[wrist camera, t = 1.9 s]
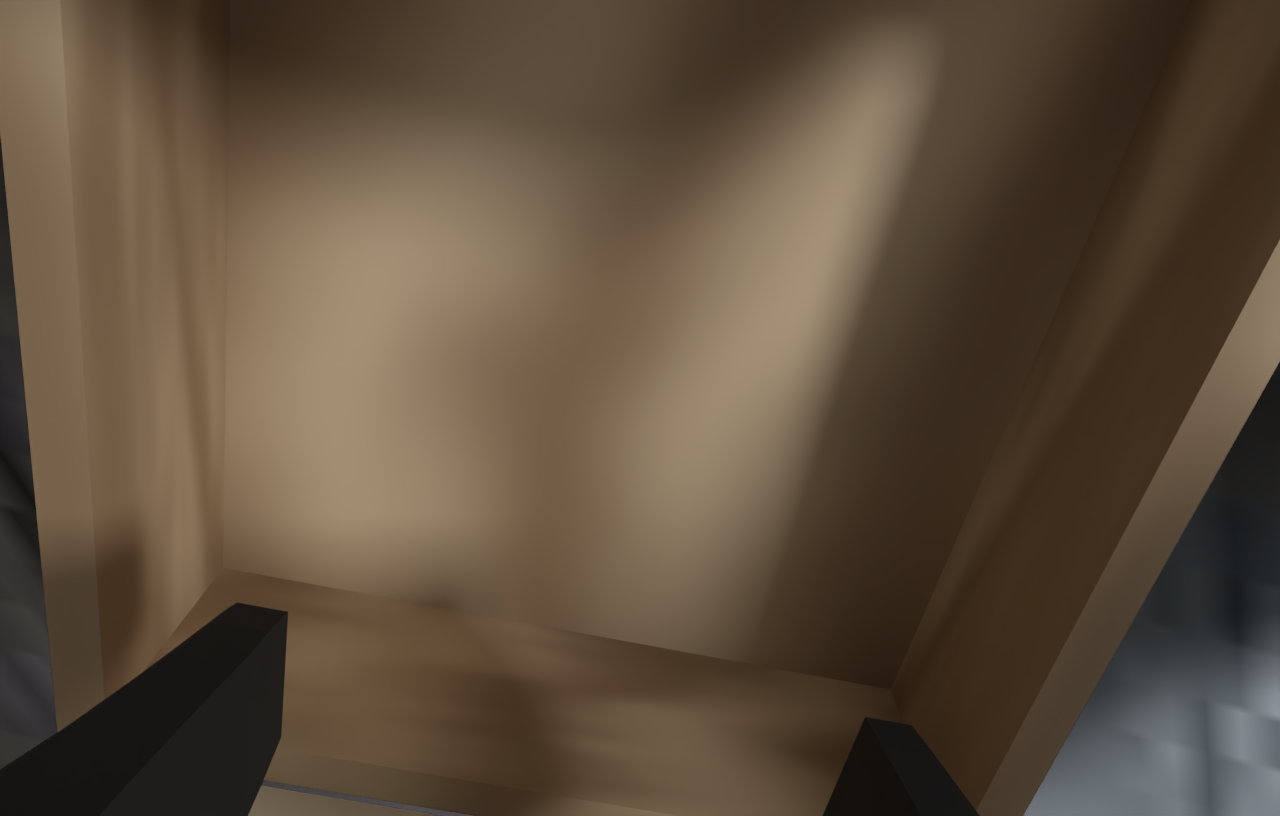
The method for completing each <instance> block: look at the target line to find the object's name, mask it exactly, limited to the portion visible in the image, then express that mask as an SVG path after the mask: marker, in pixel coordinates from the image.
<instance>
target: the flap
mask: <svg viewBox="0 0 1280 816" xmlns="http://www.w3.org/2000/svg"><path fill="white" fill-rule="evenodd" d="M248 816H442V815H436V814H430V813H424V812H418V811H412V810H406V809H400V808H394V807H388V806H382V805H376V804H370V803H364V802H358V801H352V800H346V799H340V798H334V797H328V796H322V795H316V794H309V793H303V792H297V791H291V790H285V789H279V788H273V787H267V786H261V787H260V789H259V792H258V794H257V796H256V799H255V801H254V803H253V806H252V808H251V810H250V813H249V815H248Z"/></svg>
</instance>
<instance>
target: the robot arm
mask: <svg viewBox="0 0 1280 816" xmlns="http://www.w3.org/2000/svg"><path fill="white" fill-rule="evenodd" d="M287 625H288V612H287V611H281V610H276V609H270V608H265V607H259V606H254V605H248V604H243V603H235V604H234V605H232V606H230V607H229V608H227V609H226V610H224V611H223V612H222V613H220V614H219V615H218V616H216V617H215V618H214V619H212V620H211V621H210V622H208V623H207V624H206V625H205V626H203V627H202V628H201V629H199V630H198V631H197V632H195V633H194V634H193V635H191V636H190V637H189V638H188V639H186V640H185V641H184V642H182V643H181V644H180V645H178V646H177V647H176V648H174V649H173V650H172V651H170V652H169V653H168V654H166V655H165V656H164V657H162V658H161V659H160V660H158V661H157V662H156V663H154V664H153V665H152V666H150V667H149V668H147V669H146V670H145V671H143V672H142V673H141V674H139V675H138V676H137V677H135V678H134V679H133V680H131V681H130V682H128V683H127V684H126V685H124V686H123V687H121V688H120V689H119V690H117V691H116V692H114V693H113V694H111V695H110V696H109V697H107V698H106V699H104V700H103V701H102V702H100V703H99V704H97V705H96V706H95V707H93V708H92V709H90V710H89V711H88V712H86V713H85V714H83V715H82V716H81V717H79V718H78V719H76V720H75V721H73V722H72V723H70V724H69V725H68V726H66V727H65V728H63V729H62V730H60V731H59V732H57V733H56V734H54V735H53V736H51V737H50V738H48V739H47V740H45V741H44V742H42V743H40V744H39V745H37V746H36V747H34V748H33V749H31V750H30V751H28V752H27V753H25V754H24V755H22V756H21V757H19V758H17V759H16V760H14V761H13V762H11V763H10V764H8V765H7V766H5V767H4V768H2V769H1V770H0V816H248V815H249V813H250V810H251V808H252V806H253V803H254V801H255V799H256V796H257V794H258V792H259V789H260V787H261V785H262V783H263V780H264V778H265V775H266V773H267V770H268V768H269V766H270V763H271V761H272V758H273V756H274V753H275V751H276V749H277V746H278V744H279V741H280V739H281V733H282V715H283V697H284V679H285V661H286V643H287ZM823 816H980V815H979V814H978V813H977V811H976V810H975V809H974V807H973V806H972V805H971V803H970V802H969V801H968V799H967V798H966V797H965V795H964V794H963V793H962V791H961V790H960V789H959V787H958V786H957V785H956V783H955V782H954V780H953V779H952V778H951V776H950V775H949V774H948V772H947V771H946V770H945V768H944V767H943V766H942V764H941V763H940V762H939V760H938V759H937V758H936V756H935V755H934V754H933V752H932V751H931V750H930V748H929V747H928V746H927V744H926V743H925V742H924V740H923V739H922V738H921V736H920V735H919V734H918V733H917V731H916V730H915V729H914V728H913V726H912V725H907V724H902V723H896V722H891V721H885V720H880V719H874V718H869V717H865V718H864V721H863V723H862V725H861V728H860V730H859V732H858V735H857V737H856V739H855V742H854V744H853V746H852V749H851V751H850V753H849V756H848V758H847V760H846V762H845V765H844V767H843V769H842V772H841V774H840V776H839V779H838V781H837V783H836V786H835V788H834V790H833V793H832V795H831V797H830V800H829V802H828V804H827V806H826V809H825V811H824V813H823Z"/></svg>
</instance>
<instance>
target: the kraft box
mask: <svg viewBox="0 0 1280 816" xmlns="http://www.w3.org/2000/svg"><path fill="white" fill-rule="evenodd" d="M0 136H1V147H2V157H3V168H4V178H5V189H6V199H7V210H8V220H9V231H10V241H11V252H12V262H13V273H14V283H15V294H16V304H17V314H18V325H19V335H20V346H21V356H22V367H23V377H24V388H25V398H26V409H27V419H28V430H29V440H30V451H31V461H32V472H33V482H34V493H35V503H36V514H37V524H38V535H39V545H40V556H41V566H42V577H43V587H44V598H45V608H46V619H47V629H48V640H49V650H50V661H51V671H52V682H53V692H54V702H55V713H56V723H57V732H59V731H60V730H62V729H63V728H65V727H66V726H68V725H69V724H70V723H72V722H73V721H75V720H76V719H78V718H79V717H81V716H82V715H83V714H85V713H86V712H88V711H89V710H90V709H92V708H93V707H95V706H96V705H97V704H99V703H100V702H102V701H103V700H104V699H106V698H107V697H109V696H110V695H111V694H113V693H114V692H116V691H117V690H119V689H120V688H121V687H123V686H124V685H126V684H127V683H128V682H130V681H131V680H133V679H134V678H135V677H137V676H138V675H139V674H141V673H142V672H143V671H145V670H146V669H147V668H149V667H150V666H152V665H153V664H154V663H156V662H157V661H158V660H160V659H161V658H162V657H164V656H165V655H166V654H168V653H169V652H170V651H172V650H173V649H174V648H176V647H177V646H178V645H180V644H181V643H182V642H184V641H185V640H186V639H188V638H189V637H190V636H191V635H193V634H194V633H195V632H197V631H198V630H199V629H201V628H202V627H203V626H205V625H206V624H207V623H208V622H210V621H211V620H212V619H214V618H215V617H216V616H218V615H219V614H220V613H222V612H223V611H224V610H226V609H227V608H229V607H230V606H232V605H234V604H235V603H243V604H248V605H254V606H259V607H265V608H270V609H276V610H281V611H287V612H288V625H287V643H286V661H285V679H284V697H283V715H282V733H281V739H280V741H279V744H278V746H277V749H276V751H275V753H274V756H273V758H272V761H271V763H270V766H269V768H268V770H267V773H266V775H265V778H264V780H263V781H269V782H275V783H281V784H287V785H293V786H299V787H305V788H311V789H317V790H323V791H329V792H335V793H341V794H347V795H353V796H359V797H365V798H371V799H377V800H383V801H389V802H395V803H401V804H407V805H413V806H419V807H425V808H431V809H437V810H443V811H449V812H456V813H462V814H468V815H474V816H823V813H824V811H825V809H826V806H827V804H828V802H829V800H830V797H831V795H832V793H833V790H834V788H835V786H836V783H837V781H838V779H839V776H840V774H841V772H842V769H843V767H844V765H845V762H846V760H847V758H848V756H849V753H850V751H851V749H852V746H853V744H854V742H855V739H856V737H857V735H858V732H859V730H860V728H861V725H862V723H863V721H864V718H865V717H869V718H874V719H880V720H885V721H891V722H896V723H902V724H907V725H912V726H913V728H914V729H915V730H916V731H917V733H918V734H919V735H920V736H921V738H922V739H923V740H924V742H925V743H926V744H927V746H928V747H929V748H930V750H931V751H932V752H933V754H934V755H935V756H936V758H937V759H938V760H939V762H940V763H941V764H942V766H943V767H944V768H945V770H946V771H947V772H948V774H949V775H950V776H951V778H952V779H953V780H954V782H955V783H956V785H957V786H958V787H959V789H960V790H961V791H962V793H963V794H964V795H965V797H966V798H967V799H968V801H969V802H970V803H971V805H972V806H973V807H974V809H975V810H976V811H977V813H978V814H979V815H980V816H1023V815H1024V813H1025V811H1026V810H1027V808H1028V806H1029V804H1030V803H1031V801H1032V799H1033V797H1034V795H1035V794H1036V792H1037V790H1038V788H1039V787H1040V785H1041V783H1042V781H1043V780H1044V778H1045V776H1046V774H1047V772H1048V771H1049V769H1050V767H1051V765H1052V764H1053V762H1054V760H1055V758H1056V756H1057V755H1058V753H1059V751H1060V749H1061V748H1062V746H1063V744H1064V742H1065V741H1066V739H1067V737H1068V735H1069V733H1070V732H1071V730H1072V728H1073V726H1074V725H1075V723H1076V721H1077V719H1078V718H1079V716H1080V714H1081V712H1082V710H1083V709H1084V707H1085V705H1086V703H1087V702H1088V700H1089V698H1090V696H1091V695H1092V693H1093V691H1094V689H1095V687H1096V686H1097V684H1098V682H1099V680H1100V679H1101V677H1102V675H1103V673H1104V672H1105V670H1106V668H1107V666H1108V664H1109V663H1110V661H1111V659H1112V657H1113V656H1114V654H1115V652H1116V650H1117V649H1118V647H1119V645H1120V643H1121V641H1122V640H1123V638H1124V636H1125V634H1126V633H1127V631H1128V629H1129V627H1130V626H1131V624H1132V622H1133V620H1134V618H1135V617H1136V615H1137V613H1138V611H1139V610H1140V608H1141V606H1142V604H1143V603H1144V601H1145V599H1146V597H1147V595H1148V594H1149V592H1150V590H1151V588H1152V587H1153V585H1154V583H1155V581H1156V580H1157V578H1158V576H1159V574H1160V572H1161V571H1162V569H1163V567H1164V565H1165V564H1166V562H1167V560H1168V558H1169V557H1170V555H1171V553H1172V551H1173V549H1174V548H1175V546H1176V544H1177V542H1178V541H1179V539H1180V537H1181V535H1182V534H1183V532H1184V530H1185V528H1186V526H1187V525H1188V523H1189V521H1190V519H1191V518H1192V516H1193V514H1194V512H1195V511H1196V509H1197V507H1198V505H1199V503H1200V502H1201V500H1202V498H1203V496H1204V495H1205V493H1206V491H1207V489H1208V488H1209V486H1210V484H1211V482H1212V480H1213V479H1214V477H1215V475H1216V473H1217V472H1218V470H1219V468H1220V466H1221V465H1222V463H1223V461H1224V459H1225V457H1226V456H1227V454H1228V452H1229V450H1230V449H1231V447H1232V445H1233V443H1234V442H1235V440H1236V438H1237V436H1238V434H1239V433H1240V431H1241V429H1242V427H1243V426H1244V424H1245V422H1246V420H1247V419H1248V417H1249V415H1250V413H1251V411H1252V410H1253V408H1254V406H1255V404H1256V403H1257V401H1258V399H1259V397H1260V396H1261V394H1262V392H1263V390H1264V388H1265V387H1266V385H1267V383H1268V381H1269V380H1270V378H1271V376H1272V374H1273V373H1274V371H1275V369H1276V367H1277V365H1278V364H1279V362H1280V0H0Z"/></svg>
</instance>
